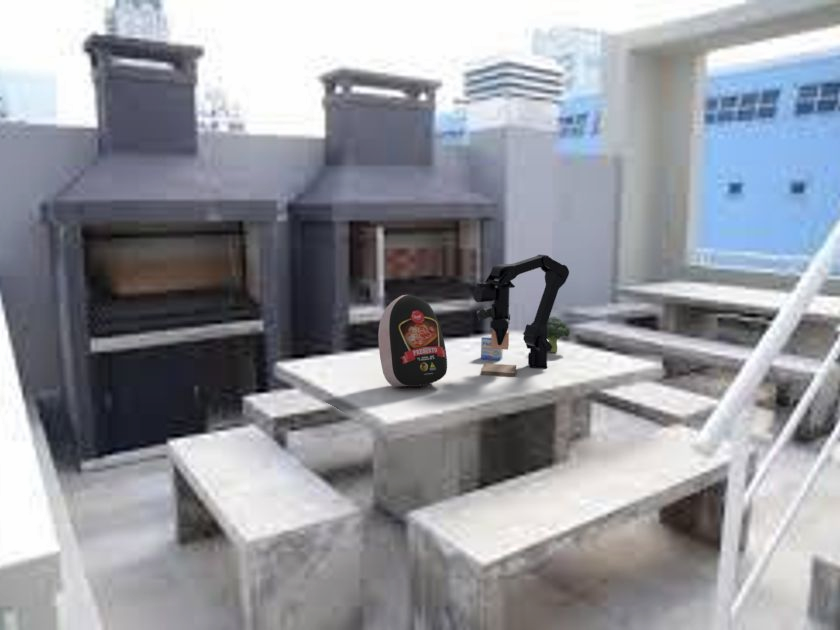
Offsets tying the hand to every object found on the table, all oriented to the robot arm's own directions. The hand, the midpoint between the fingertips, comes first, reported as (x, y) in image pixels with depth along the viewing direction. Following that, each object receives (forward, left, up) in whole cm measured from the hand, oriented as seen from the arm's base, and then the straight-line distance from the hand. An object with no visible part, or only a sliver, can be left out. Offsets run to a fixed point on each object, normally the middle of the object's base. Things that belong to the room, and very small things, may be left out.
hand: (500, 343), depth 247 cm
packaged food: (+28, +24, -11) cm, 38 cm away
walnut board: (0, 0, -10) cm, 10 cm away
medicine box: (+4, -20, -11) cm, 23 cm away
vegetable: (-20, -36, -11) cm, 42 cm away
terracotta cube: (0, 0, -2) cm, 2 cm away
